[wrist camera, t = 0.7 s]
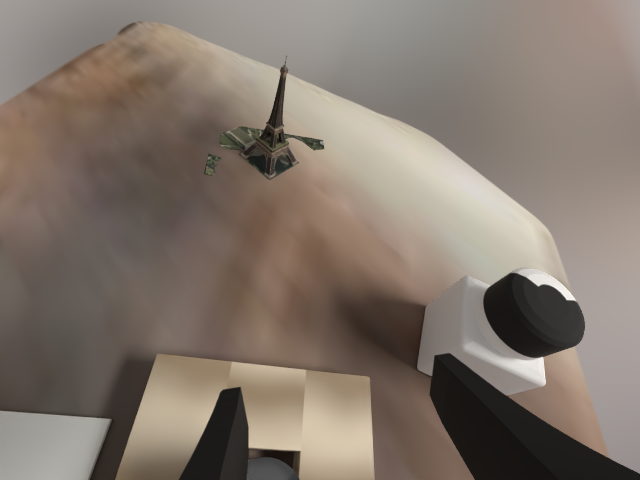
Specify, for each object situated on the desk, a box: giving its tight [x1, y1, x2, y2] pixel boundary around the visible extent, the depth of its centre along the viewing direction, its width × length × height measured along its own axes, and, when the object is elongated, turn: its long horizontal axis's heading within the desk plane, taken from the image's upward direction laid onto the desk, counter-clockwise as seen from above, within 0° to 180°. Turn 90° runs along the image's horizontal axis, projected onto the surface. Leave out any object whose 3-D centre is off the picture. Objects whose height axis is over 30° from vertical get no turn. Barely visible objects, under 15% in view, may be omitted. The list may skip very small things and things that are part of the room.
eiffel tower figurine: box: [205, 61, 324, 180], centre depth 36 cm, size 15×10×13 cm
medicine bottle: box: [417, 268, 585, 395], centre depth 27 cm, size 7×7×12 cm
